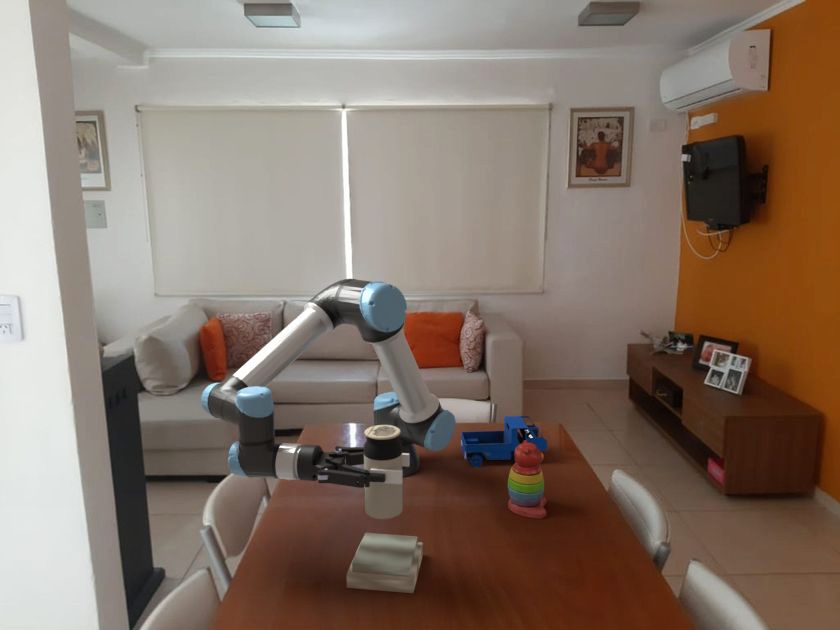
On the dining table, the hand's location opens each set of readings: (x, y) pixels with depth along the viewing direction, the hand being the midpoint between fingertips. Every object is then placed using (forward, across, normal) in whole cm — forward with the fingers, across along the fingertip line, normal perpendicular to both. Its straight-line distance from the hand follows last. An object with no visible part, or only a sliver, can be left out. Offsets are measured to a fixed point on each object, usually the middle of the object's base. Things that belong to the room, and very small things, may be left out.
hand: (405, 468), depth 126 cm
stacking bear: (+26, -32, -24) cm, 48 cm away
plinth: (-5, 0, -24) cm, 24 cm away
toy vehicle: (+20, -63, -24) cm, 70 cm away
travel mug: (-5, 0, -10) cm, 11 cm away
